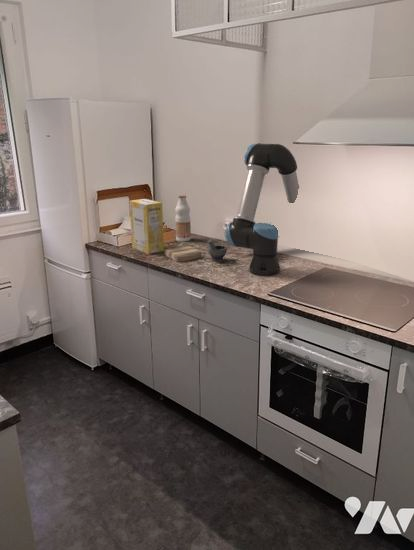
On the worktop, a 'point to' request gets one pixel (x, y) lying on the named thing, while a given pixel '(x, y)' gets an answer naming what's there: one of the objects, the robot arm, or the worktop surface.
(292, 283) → the worktop surface
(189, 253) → the block
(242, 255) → the worktop surface
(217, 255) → the mortar and pestle
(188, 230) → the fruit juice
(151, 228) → the pasta box
